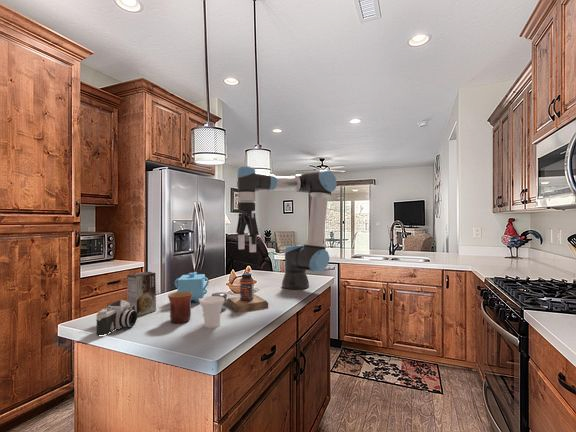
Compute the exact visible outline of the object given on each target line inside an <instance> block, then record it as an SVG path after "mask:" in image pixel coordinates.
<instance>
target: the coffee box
mask: <svg viewBox="0 0 576 432" xmlns="http://www.w3.org/2000/svg"><path fill="white" fill-rule="evenodd" d="M126 279H127V281H126V285H127V286H126V287H127V288H126V289H127V292H126V294H127V300H126V302H129V303H130V310H135V311H136V313H137V317H140V316H143V315H146V314H150V313H153V312H156V311H157V293H156V291H157V289H156V288H157V287H156V286H157V285H156V283H157V282H156V272H152V271H148V270H147V271H141V272H136V273H131V274H130V273H129V274H127V275H126Z"/></svg>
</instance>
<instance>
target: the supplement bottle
mask: <svg viewBox="0 0 576 432" xmlns="http://www.w3.org/2000/svg"><path fill="white" fill-rule="evenodd" d="M241 275H242V277H241V278H240V280H239V296H240V299H241V300H243V301H250V300H252V299H253V297H254V286H255V285H254V284H255V283H254V278H253V277H252V273H251V272H243V273H242V274H241Z"/></svg>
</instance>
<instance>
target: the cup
mask: <svg viewBox="0 0 576 432" xmlns="http://www.w3.org/2000/svg"><path fill="white" fill-rule="evenodd" d="M223 302H224V298H223V297H220V296H212V295H211V296H210V295H209V296H203V298H201V299H200V298H199V304H200V306H201V308H202V312H203V319H204V324H203V325H204V327H205V328H210V329H211V328H216V327H219V326H220V325H221V312H222V311H221V309H222V304H223Z"/></svg>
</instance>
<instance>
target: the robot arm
mask: <svg viewBox="0 0 576 432" xmlns="http://www.w3.org/2000/svg"><path fill="white" fill-rule="evenodd" d="M337 182H338V181H337V178H336V175H335V174H334V173H333V172H332V171H331V170H328V169H320V170H316V171H308V172H304V173H300V174H292V175H290V176H286V175H285V176H283V175H282V176H281V175H280V176H279V175H277V176H276V175H275V174H271V173H264V172H256V169H255V167H253V166H249V165H248V166H246V165H245V166H240V167H238V169H237V182H236V188H237V194H236V197H237V201H238V202H237V210H238V212H240V213H238V218H237V220H238V221H237V226H236V234H237V235H238V237H237V238H238V239H237V240H238V241H237V243H238V244H237V245H238V248H237V249H238V250H245V248H246V247H245V240H246V238H245V235H246V234H245V231H246V227H247V229H248V233H249V235H248V238H249V239H248V240H249V244H248V245H249V253H257V236H259V228H258V223H257V217H256V213H255V211H256V203H255V202H256V192H276V191H291V192H293V193H306V194H309V196H310V197H311V202H310V214H309V222H308V231H307V239H306V240H307V241H306V242H305V243H303V244H299V245H290V246H288V245H287V246H286V247H285V250H284V274H283V275H284V276H283V279H282V281H281V287H282V288H284V289H288V290H304V289H307V288H309V287H310V282H309V278H308V275H307V271H309V272H310V271H311V272H319V273H320V272H323V271H324V270H325V269H326V268H327V267H328V265H329V262H330V253H329V252H328V250H326V249H327V247H326V245H325V244H324V240H325V231H326V230H325V229H326V219H327V209H328V200H329V198H331V197H332V192H334V191H335V190H336V188H337Z"/></svg>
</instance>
